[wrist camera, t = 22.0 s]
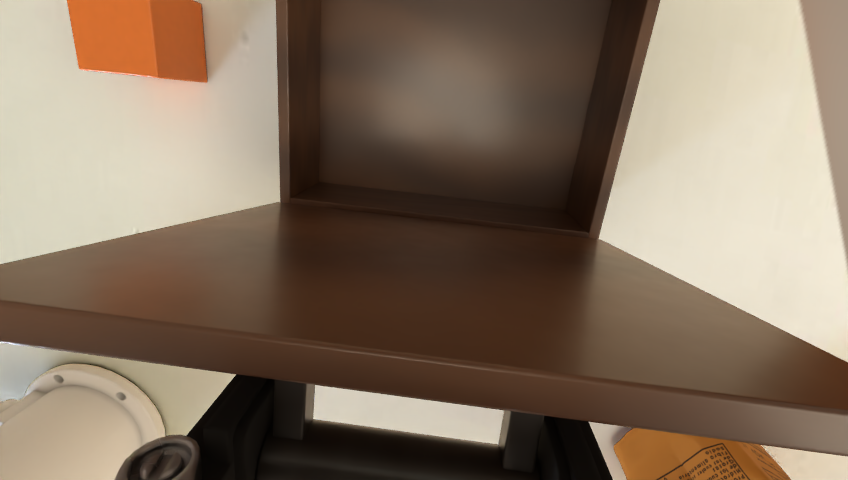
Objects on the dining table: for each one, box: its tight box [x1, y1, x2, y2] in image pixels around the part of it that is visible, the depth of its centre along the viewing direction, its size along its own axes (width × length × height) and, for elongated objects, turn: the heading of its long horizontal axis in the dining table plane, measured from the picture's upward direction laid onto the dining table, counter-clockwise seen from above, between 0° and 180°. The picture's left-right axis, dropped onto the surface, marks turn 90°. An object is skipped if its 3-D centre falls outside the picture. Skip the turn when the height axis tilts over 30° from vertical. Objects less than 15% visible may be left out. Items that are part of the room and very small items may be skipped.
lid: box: [0, 202, 848, 480], centre depth 14 cm, size 16×18×5 cm
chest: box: [276, 0, 660, 239], centre depth 22 cm, size 15×18×6 cm
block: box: [67, 0, 207, 83], centre depth 23 cm, size 5×5×5 cm
